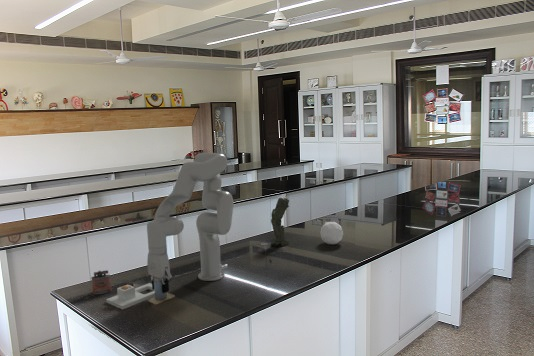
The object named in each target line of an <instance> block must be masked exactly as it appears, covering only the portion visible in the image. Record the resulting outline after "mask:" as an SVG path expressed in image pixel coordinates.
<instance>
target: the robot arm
mask: <svg viewBox="0 0 534 356" xmlns="http://www.w3.org/2000/svg"><path fill="white" fill-rule="evenodd" d="M227 166H228V158H227V156H225V155H224V154H223V153H219V152H199V153H197V154H196V155H195V156H194V161H187V162H185V163H183V164H182V165H181V167H180V170H179V172H178V175H177V178H176V182H175V184H174V187H173V189H172V191H171V192H170V194H168V196H166V197H165V198H164V199H163V201H161V203H160V204H159V205H158V207H157V209H156V212H155V215H154V218H153V220H152V221H148V222H147V224H146V233H147V244H148V245H147V246H148V252H147V263H146V265H147V275H149V277H150V280H151V284H152V289H153V290H154V279H153V278H154V277H157V278H160V279H161V280H162V283H163V284H162V293H166V292H167V293H169V291H170V286H169V285H170V281H171V279H172V278H173V275H172V273H171V266H170V259H169V255H168V246H167V237H171V236H176V235H179V234H181V233H182V231H183V230H184V227H185V226H184V222H183V220H182V219H180V218H177V217H175V216H174V217H173V216H170V215H171V213H172V212H173V210H174V209H175V208H176V207H177V206H180V205H181V204H183V203H185V202H187V201H189V200H190V199H191V198H192V194H193V192H194V189H195V187H196V184H197V182H202V183H203V184H202V185H203V186H202V196H201V204H202V207H203V208H204V209H207V210H210V211H211V210H212V211H216V212H209V211H204V212H201V213H199V214H198V216H197V218H196V221H195V222H196V230H197V233H198V238H199V239H198V240H199V253H200V254H199V256H200V269H201V270H200V273H198V274H197V277H198V279H199V280H200V281H206V282H212V281H213V282H215V281H218V280H221V279H223V278H224V277H225V272H224V269H227V268H228V264H227V263H225V264H222V261H221V246H220V245H221V244H220V242H221V241H220V237H219V235H220V236H225V235H226V234H229V232H230V230H231V228H232V222H233V221H232V220H233V213H234V198H233V195H232V193H230V192H228V191H227V190H222V176H221V173H223V172H224V171H225V169H226V168H227ZM164 278H166V279H165V281H164Z"/></svg>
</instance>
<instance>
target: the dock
mask: <svg viewBox="0 0 534 356" xmlns="http://www.w3.org/2000/svg"><path fill="white" fill-rule="evenodd" d="M126 285H128V286H129V289H126V290H123V288H122V287H123V286H126ZM126 285H122V286H119V287H117V288H116V291H117V294H116V295H114V296H112V297H109V298H106V303H107V304H109V305H111V306H113V307H116V308H118V309H121V310H125V309H128V308H130V307H133V306H135V305H137V304H140V303H143V302H145V301H147V300H148V299H151V298H153V297H155V291H154V290H153V289H152V282H148V283H146V284H143V285H140V286H138V287H135V286H132V285H131V284H126ZM147 290H150V292H148V293H145V294H143V293H142V292H145V291H147Z"/></svg>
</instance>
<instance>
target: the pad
mask: <svg viewBox="0 0 534 356" xmlns="http://www.w3.org/2000/svg"><path fill="white" fill-rule="evenodd" d="M175 297H176V295H175V294H172V293H169V292H167V298H165V299H161V300H157V299H155V297H152V298H150V299H148V300H146V301H147V302H149V303H151V304H153V305H156V306H157V305H159V304H161V303H163V302H165V301H167V300H168V301H169V300H171V299H174V298H175Z"/></svg>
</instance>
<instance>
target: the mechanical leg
mask: <svg viewBox="0 0 534 356" xmlns="http://www.w3.org/2000/svg"><path fill="white" fill-rule="evenodd" d="M289 202H290V200H289V199H288V198H283V197H279V198H278V199H277V201H276V206H275V208H273V209H272V211H271V214H270V215H271V218H270V223H271V225H272V229H273V233H274V236H275V239H274V241H273V242H272V243H271V244H270V247H272V248H280V247H283V246H287V245H289V244H290V241H289V240H287V239H285V225H283V224H282V219H283V217H284V215H285V213H286V211H287V209H288V208H289V207H290V206H289Z"/></svg>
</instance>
